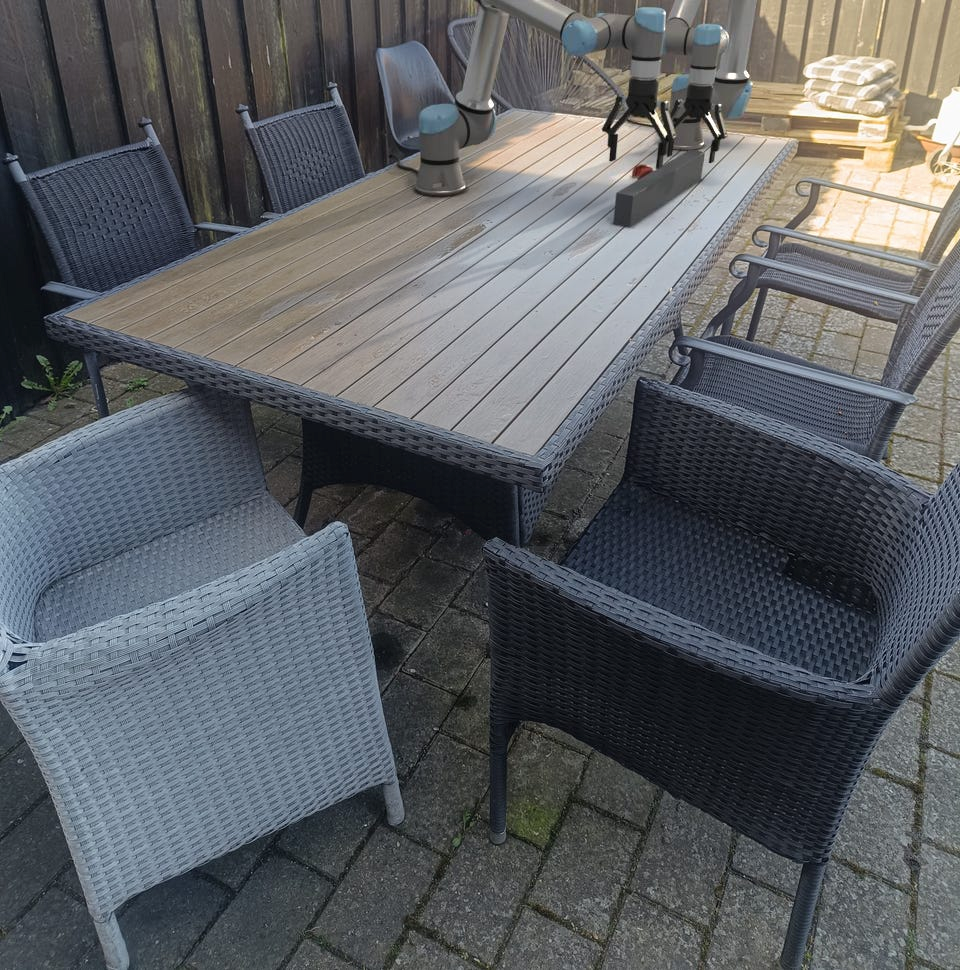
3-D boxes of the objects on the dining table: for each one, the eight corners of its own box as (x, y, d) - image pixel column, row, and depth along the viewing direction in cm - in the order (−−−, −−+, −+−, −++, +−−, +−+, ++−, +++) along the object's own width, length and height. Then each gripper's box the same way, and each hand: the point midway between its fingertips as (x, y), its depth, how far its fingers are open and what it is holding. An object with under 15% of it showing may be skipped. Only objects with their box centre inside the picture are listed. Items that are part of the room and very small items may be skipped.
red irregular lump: (647, 160, 269) (657, 167, 263) (646, 174, 272) (656, 181, 265) (631, 162, 268) (641, 169, 262) (630, 176, 271) (640, 183, 264)
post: (629, 227, 230) (633, 195, 225) (613, 224, 233) (616, 192, 228) (700, 179, 267) (705, 151, 262) (685, 177, 269) (689, 149, 264)
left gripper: (696, 80, 211) (684, 167, 223) (606, 70, 222) (599, 154, 234) (685, 85, 206) (673, 174, 218) (593, 74, 217) (587, 160, 229)
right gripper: (746, 86, 245) (733, 162, 257) (666, 78, 256) (657, 151, 268) (738, 90, 240) (725, 167, 252) (656, 81, 251) (647, 155, 263)
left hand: (635, 164), depth 226 cm, fingers open, 13 cm apart
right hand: (690, 159), depth 260 cm, fingers open, 13 cm apart
